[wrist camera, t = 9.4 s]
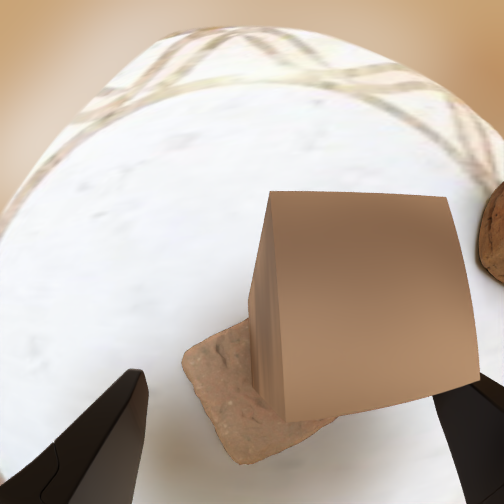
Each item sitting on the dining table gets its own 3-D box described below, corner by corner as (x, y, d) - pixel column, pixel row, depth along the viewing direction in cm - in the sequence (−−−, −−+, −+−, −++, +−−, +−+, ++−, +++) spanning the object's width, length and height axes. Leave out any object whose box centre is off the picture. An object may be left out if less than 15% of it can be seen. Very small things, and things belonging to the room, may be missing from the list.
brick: (236, 456, 19) (237, 477, 15) (181, 356, 21) (168, 352, 17) (419, 344, 23) (453, 336, 18) (370, 257, 25) (395, 234, 21)
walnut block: (338, 379, 17) (480, 379, 6) (252, 386, 17) (285, 423, 6) (331, 296, 19) (446, 197, 8) (248, 300, 18) (269, 191, 7)
